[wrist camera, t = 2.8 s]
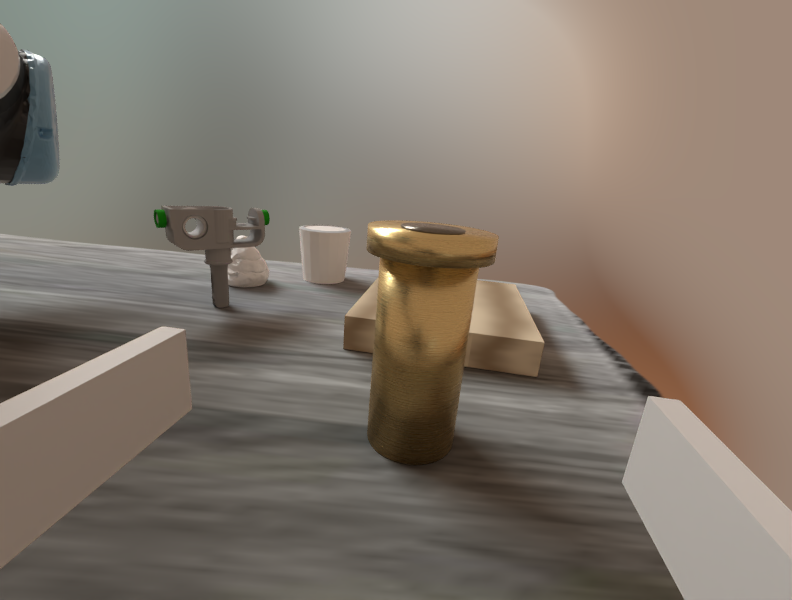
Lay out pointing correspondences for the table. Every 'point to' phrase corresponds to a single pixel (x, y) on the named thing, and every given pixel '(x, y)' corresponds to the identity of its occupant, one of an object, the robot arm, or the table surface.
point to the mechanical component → (212, 237)
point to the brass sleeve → (421, 333)
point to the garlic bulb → (247, 267)
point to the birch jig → (489, 330)
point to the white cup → (324, 253)
